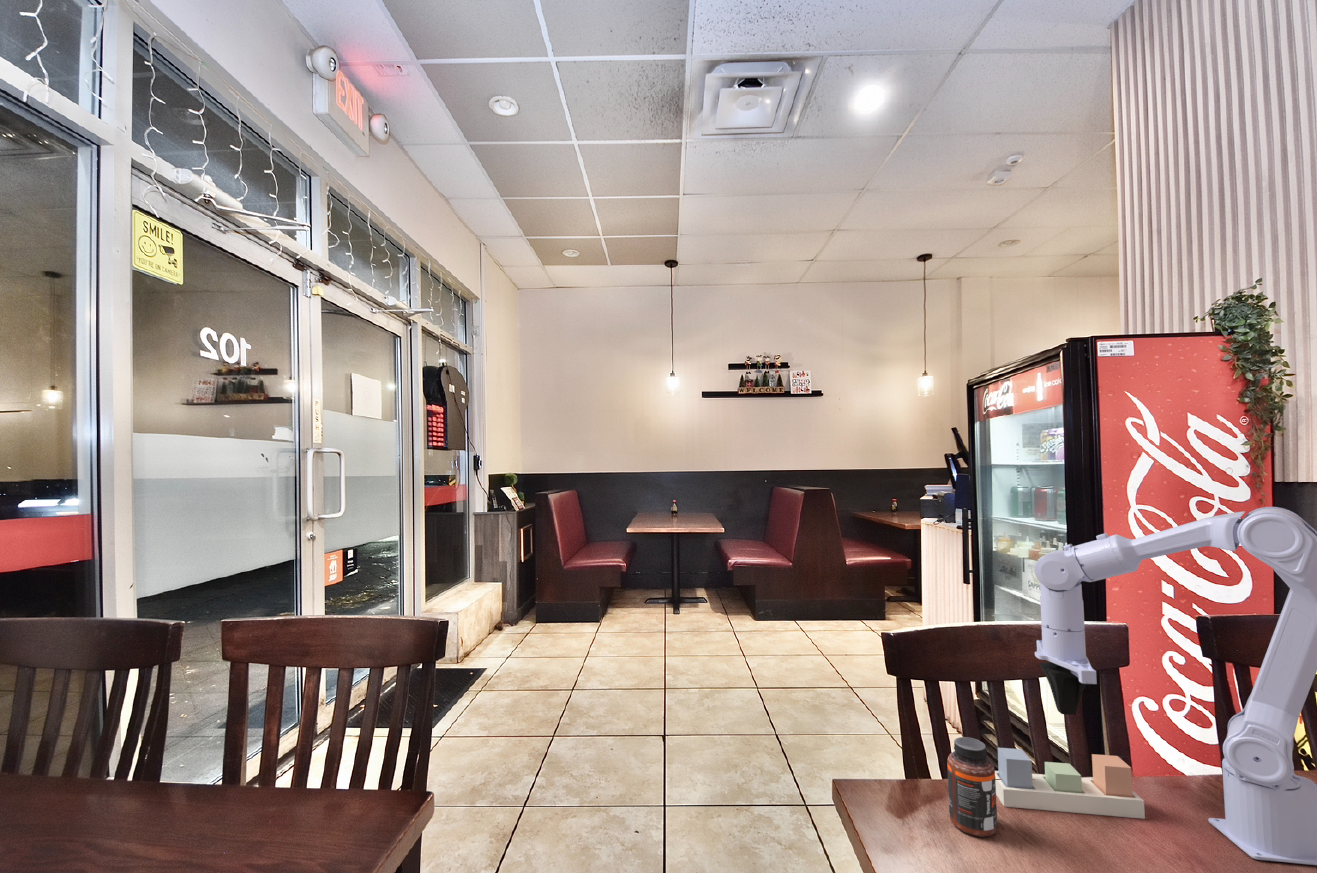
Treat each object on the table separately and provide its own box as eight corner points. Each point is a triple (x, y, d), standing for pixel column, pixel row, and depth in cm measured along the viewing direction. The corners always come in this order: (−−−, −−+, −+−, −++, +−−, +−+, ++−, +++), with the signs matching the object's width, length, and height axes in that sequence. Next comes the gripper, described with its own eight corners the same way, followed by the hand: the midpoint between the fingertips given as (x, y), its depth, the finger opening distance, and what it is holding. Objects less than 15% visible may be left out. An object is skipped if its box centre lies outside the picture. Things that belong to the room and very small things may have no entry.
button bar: (1122, 797, 87) (1122, 780, 87) (1144, 818, 82) (1144, 800, 82) (990, 786, 90) (990, 770, 90) (1004, 806, 85) (1003, 789, 85)
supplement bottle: (1004, 841, 77) (1001, 755, 78) (956, 836, 79) (953, 751, 79) (988, 814, 83) (985, 734, 84) (944, 810, 84) (941, 731, 85)
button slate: (1023, 779, 89) (1021, 749, 89) (1032, 791, 85) (1031, 760, 85) (998, 777, 89) (997, 747, 89) (1007, 789, 86) (1006, 758, 86)
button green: (1070, 794, 87) (1069, 763, 87) (1082, 807, 84) (1081, 775, 84) (1045, 791, 88) (1044, 761, 88) (1056, 805, 85) (1055, 773, 85)
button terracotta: (1119, 786, 86) (1117, 756, 86) (1133, 800, 83) (1131, 767, 83) (1093, 784, 87) (1091, 754, 87) (1106, 797, 83) (1104, 766, 84)
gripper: (1016, 614, 101) (1019, 693, 100) (1057, 639, 86) (1061, 732, 86) (1061, 615, 99) (1064, 695, 99) (1110, 641, 85) (1115, 735, 85)
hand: (1066, 712), depth 92 cm, fingers closed
